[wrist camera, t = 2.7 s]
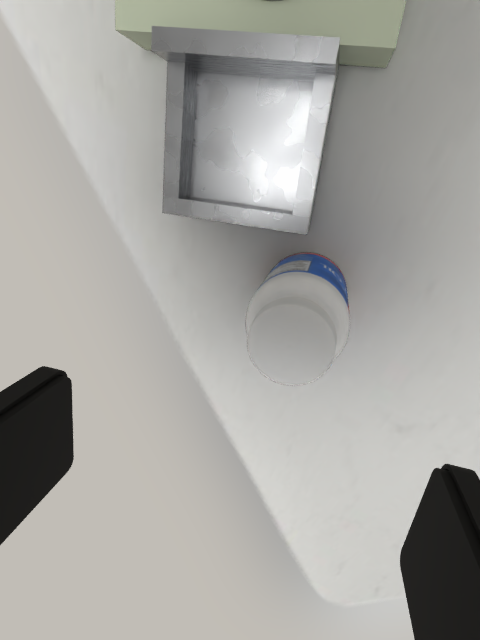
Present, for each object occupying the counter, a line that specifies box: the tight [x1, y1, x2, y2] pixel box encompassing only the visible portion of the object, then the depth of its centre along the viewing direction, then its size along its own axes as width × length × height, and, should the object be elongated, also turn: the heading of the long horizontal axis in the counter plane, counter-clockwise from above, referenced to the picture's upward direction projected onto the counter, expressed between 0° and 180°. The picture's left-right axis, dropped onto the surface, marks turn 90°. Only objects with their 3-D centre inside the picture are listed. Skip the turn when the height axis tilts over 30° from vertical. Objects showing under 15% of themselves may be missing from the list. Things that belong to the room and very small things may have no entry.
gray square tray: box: [151, 26, 340, 235], centre depth 21 cm, size 9×9×4 cm
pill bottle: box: [246, 253, 350, 386], centre depth 21 cm, size 6×5×10 cm
